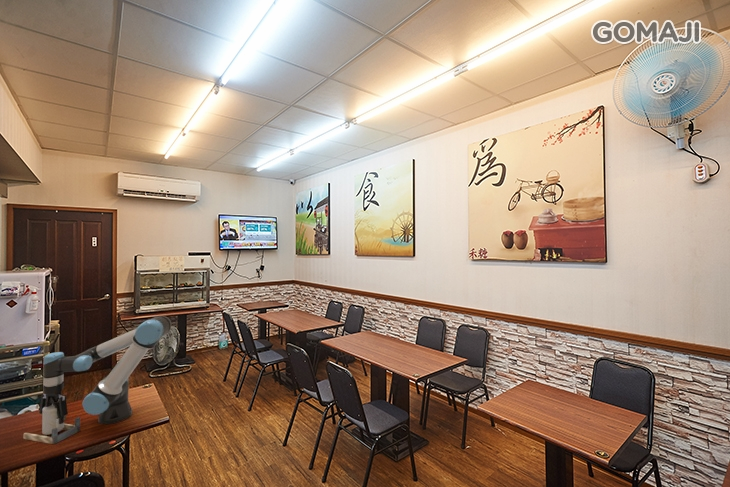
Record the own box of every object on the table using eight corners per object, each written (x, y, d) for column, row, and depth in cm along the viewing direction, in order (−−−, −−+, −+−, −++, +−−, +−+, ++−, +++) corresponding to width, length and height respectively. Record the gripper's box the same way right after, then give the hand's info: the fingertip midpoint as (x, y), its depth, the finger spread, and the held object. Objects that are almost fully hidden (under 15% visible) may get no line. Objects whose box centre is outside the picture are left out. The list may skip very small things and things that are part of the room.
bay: (80, 430, 172) (80, 417, 172) (53, 444, 161) (54, 429, 161) (50, 426, 177) (51, 412, 177) (23, 438, 165) (23, 424, 165)
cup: (50, 435, 164) (50, 411, 164) (37, 433, 166) (37, 409, 166) (68, 426, 172) (68, 403, 172) (55, 425, 174) (56, 402, 174)
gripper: (77, 382, 170) (77, 427, 170) (46, 379, 175) (46, 422, 175) (61, 389, 163) (60, 435, 163) (29, 384, 168) (29, 429, 167)
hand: (53, 428), depth 169 cm, fingers closed on cup, 8 cm apart
